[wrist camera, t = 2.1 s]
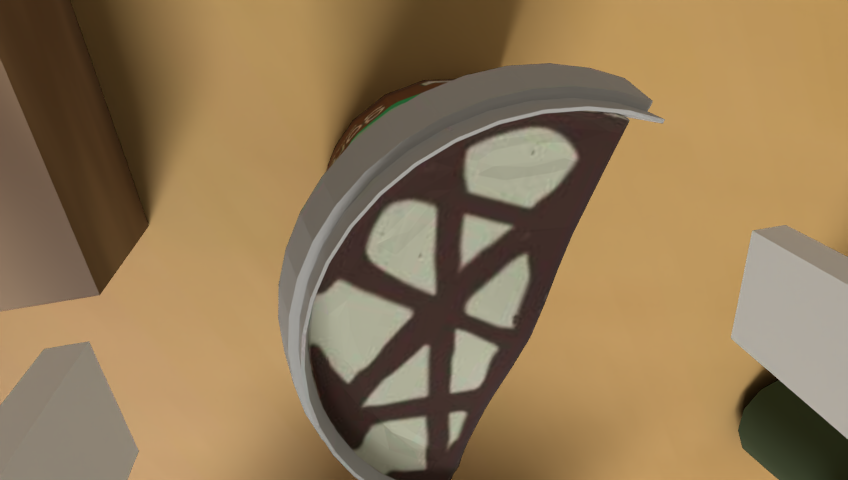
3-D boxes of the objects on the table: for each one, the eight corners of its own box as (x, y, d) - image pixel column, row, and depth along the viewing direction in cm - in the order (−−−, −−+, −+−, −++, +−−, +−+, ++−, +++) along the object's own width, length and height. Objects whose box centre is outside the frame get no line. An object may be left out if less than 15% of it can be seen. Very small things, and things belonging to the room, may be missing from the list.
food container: (346, -21, 17) (379, -35, 8) (510, 46, 19) (679, 93, 10) (256, 296, 22) (214, 510, 13) (398, 326, 23) (449, 531, 15)
